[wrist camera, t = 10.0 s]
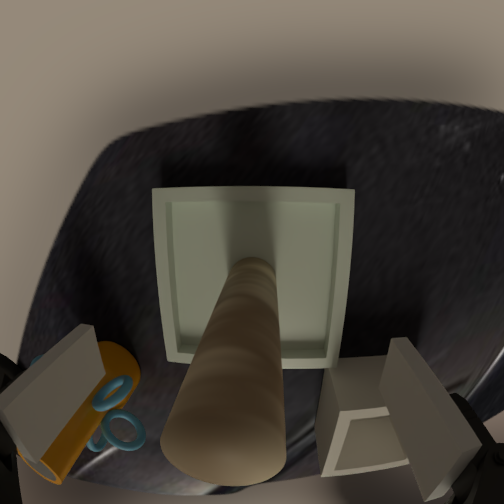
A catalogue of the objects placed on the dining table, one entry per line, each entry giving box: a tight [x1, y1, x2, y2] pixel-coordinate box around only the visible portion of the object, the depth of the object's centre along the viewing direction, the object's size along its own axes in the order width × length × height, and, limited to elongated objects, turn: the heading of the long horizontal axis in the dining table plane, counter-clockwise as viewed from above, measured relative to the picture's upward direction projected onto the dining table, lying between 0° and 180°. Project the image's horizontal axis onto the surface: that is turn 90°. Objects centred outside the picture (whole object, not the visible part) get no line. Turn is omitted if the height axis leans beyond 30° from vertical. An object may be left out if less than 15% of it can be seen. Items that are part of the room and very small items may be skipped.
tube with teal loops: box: [17, 341, 146, 484], centre depth 19 cm, size 12×10×15 cm
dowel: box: [160, 257, 286, 486], centre depth 15 cm, size 4×4×16 cm
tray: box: [152, 186, 355, 369], centre depth 22 cm, size 14×14×2 cm
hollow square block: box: [315, 355, 410, 477], centre depth 22 cm, size 9×9×7 cm
